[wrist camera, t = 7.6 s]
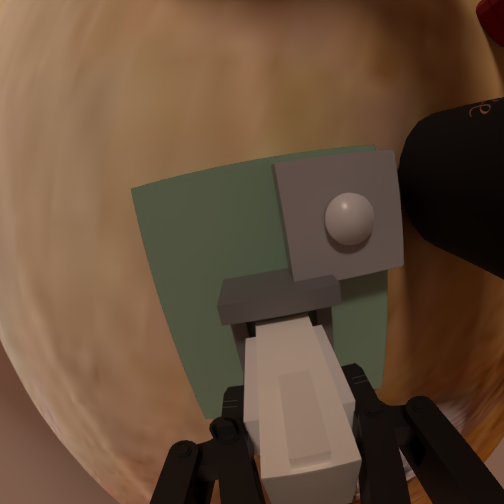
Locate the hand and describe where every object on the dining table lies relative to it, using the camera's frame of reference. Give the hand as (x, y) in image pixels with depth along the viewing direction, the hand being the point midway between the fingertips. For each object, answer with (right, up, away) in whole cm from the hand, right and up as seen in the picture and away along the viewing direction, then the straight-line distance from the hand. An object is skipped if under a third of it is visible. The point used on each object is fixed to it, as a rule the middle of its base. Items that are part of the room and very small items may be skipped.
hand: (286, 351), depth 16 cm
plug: (0, 0, 0) cm, 0 cm away
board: (0, +2, +4) cm, 5 cm away
